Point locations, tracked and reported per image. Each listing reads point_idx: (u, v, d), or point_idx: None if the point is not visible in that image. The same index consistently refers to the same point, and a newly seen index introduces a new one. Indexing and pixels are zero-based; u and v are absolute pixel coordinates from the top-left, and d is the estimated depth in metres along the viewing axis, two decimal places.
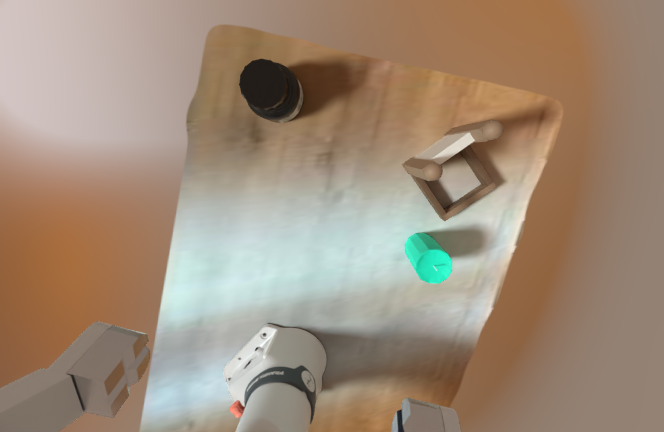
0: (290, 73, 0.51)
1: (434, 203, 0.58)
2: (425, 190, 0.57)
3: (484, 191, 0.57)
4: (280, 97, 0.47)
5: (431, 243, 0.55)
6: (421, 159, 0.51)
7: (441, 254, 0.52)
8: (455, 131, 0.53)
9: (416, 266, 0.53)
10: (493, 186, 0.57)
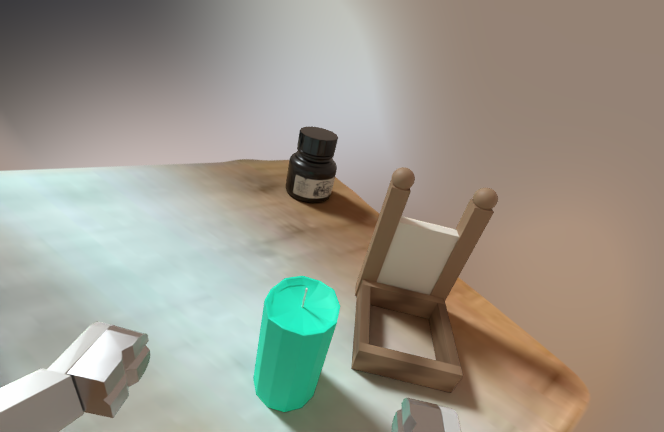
0: (335, 165, 0.60)
1: (362, 320, 0.35)
2: (363, 301, 0.37)
3: (441, 365, 0.32)
4: (322, 139, 0.55)
5: None
6: None
7: (329, 304, 0.26)
8: None
9: (279, 284, 0.27)
10: (458, 371, 0.32)
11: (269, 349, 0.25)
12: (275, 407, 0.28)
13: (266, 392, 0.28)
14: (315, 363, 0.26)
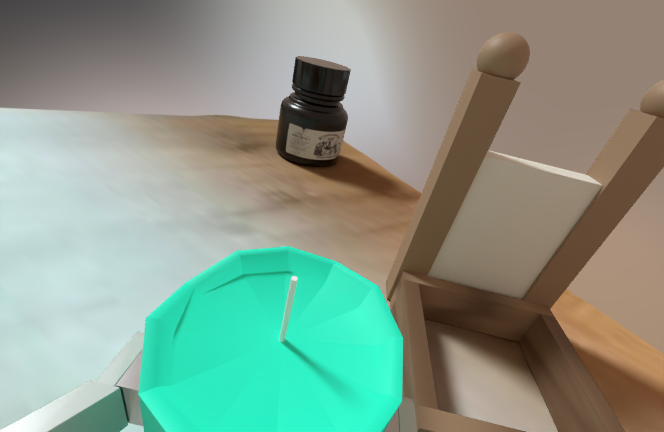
0: (346, 113, 0.42)
1: (416, 352, 0.17)
2: (411, 311, 0.19)
3: None
4: (328, 67, 0.37)
5: None
6: None
7: (367, 330, 0.09)
8: None
9: (217, 268, 0.09)
10: None
11: None
12: None
13: None
14: None
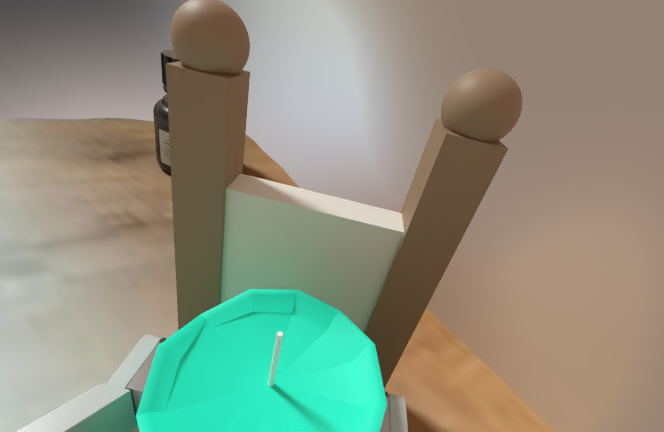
0: None
1: None
2: None
3: None
4: None
5: None
6: None
7: (355, 387, 0.09)
8: None
9: (230, 304, 0.10)
10: None
11: None
12: None
13: None
14: None
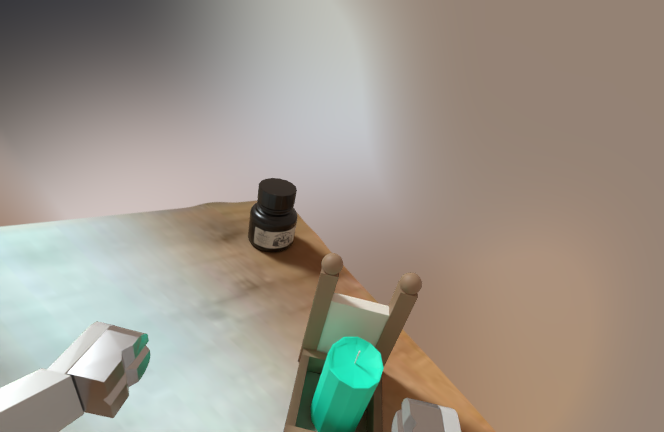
0: (295, 215, 0.62)
1: (294, 398, 0.36)
2: (299, 375, 0.39)
3: None
4: (278, 195, 0.56)
5: None
6: None
7: (375, 364, 0.34)
8: None
9: (339, 341, 0.36)
10: None
11: (326, 390, 0.34)
12: None
13: (319, 421, 0.36)
14: (359, 408, 0.34)
